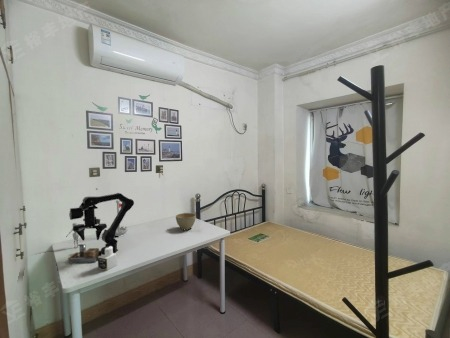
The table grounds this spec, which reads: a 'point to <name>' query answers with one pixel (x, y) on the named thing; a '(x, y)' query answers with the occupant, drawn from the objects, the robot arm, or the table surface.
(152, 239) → the table surface
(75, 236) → the human figurine
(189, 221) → the flower pot
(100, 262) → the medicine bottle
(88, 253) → the brown block
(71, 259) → the bay
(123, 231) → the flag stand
